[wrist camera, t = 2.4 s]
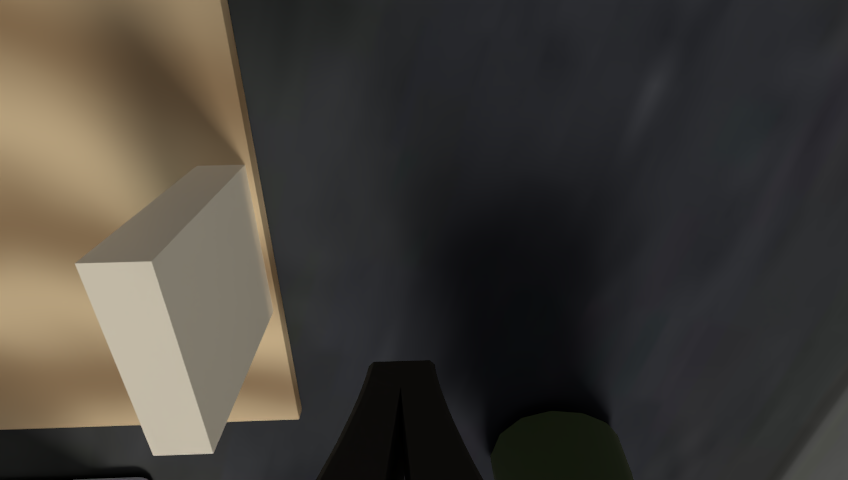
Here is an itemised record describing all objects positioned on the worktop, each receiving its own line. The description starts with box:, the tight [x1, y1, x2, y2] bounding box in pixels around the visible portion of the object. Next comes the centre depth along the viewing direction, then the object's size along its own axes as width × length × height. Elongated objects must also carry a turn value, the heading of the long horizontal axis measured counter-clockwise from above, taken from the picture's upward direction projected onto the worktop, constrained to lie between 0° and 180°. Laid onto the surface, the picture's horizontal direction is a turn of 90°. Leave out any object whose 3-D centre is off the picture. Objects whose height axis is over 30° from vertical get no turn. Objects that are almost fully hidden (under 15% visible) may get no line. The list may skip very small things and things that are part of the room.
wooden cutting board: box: [0, 0, 302, 430], centre depth 17 cm, size 18×14×1 cm
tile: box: [75, 165, 273, 456], centre depth 14 cm, size 6×2×6 cm, turn 1°
